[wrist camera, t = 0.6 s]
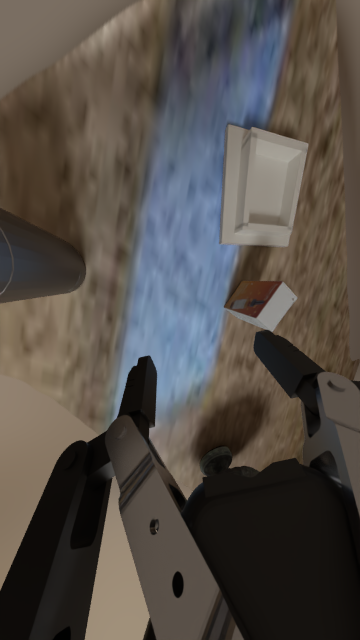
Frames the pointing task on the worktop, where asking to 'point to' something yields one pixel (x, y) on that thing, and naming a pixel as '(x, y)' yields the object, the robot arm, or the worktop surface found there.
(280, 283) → the small box
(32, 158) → the worktop surface
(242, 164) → the off-white tray
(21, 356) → the worktop surface
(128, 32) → the worktop surface
